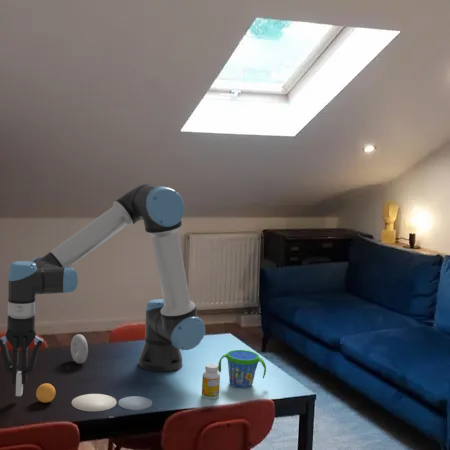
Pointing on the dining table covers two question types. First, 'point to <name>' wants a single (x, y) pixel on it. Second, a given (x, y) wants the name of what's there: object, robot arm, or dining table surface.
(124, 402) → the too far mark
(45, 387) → the ball
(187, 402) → the dining table surface
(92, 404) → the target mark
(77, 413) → the dining table surface
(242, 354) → the snack cup
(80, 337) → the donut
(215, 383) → the supplement bottle
